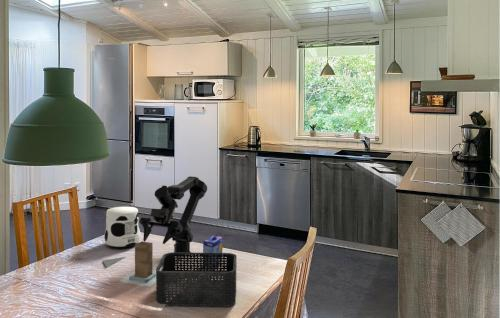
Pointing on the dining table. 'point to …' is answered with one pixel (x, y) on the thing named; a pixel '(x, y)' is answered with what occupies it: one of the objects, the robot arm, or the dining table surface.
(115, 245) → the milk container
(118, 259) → the slate coaster
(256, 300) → the dining table surface
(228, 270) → the storage bin
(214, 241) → the ink cartridge box
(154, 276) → the pocket board
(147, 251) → the walnut block
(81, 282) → the dining table surface
